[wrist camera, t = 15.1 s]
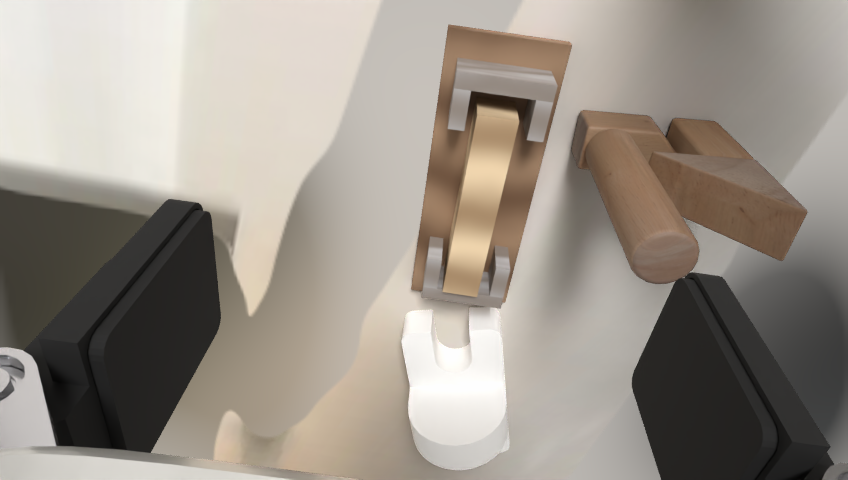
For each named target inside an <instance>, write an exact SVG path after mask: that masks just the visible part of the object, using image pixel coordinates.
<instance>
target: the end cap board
mask: <svg viewBox="0 0 848 480" xmlns="http://www.w3.org/2000/svg"><path fill="white" fill-rule="evenodd" d="M571 47H572V45H571V43H570V42H566V41H559V40H552V39H546V38H539V37H532V36H525V35H518V34H511V33H504V32H497V31H490V30H483V29H476V28H469V27H462V26H455V25H448V31H447V39H446V46H445V53H444V61H443V67H442V74H441V82H440V89H439V95H438V103H437V111H436V117H435V124H434V131H433V138H432V145H431V152H430V160H429V167H428V174H427V181H426V188H425V195H424V202H423V209H422V216H421V223H420V230H419V238H418V245H417V252H416V259H415V266H414V273H413V280H412V287H411V289H412V290H419V291H422V298H428V299H435V300H442V301H449V302H457V303H464V304H471V305H478V306H485V307H492V308H500V309H501V305H502V302H505V301H506V297H507V293H508V289H509V285H510V282H511V278H512V274H513V270H514V266H515V262H516V258H517V255H518V251H519V247H520V243H521V239H522V235H523V232H524V228H525V224H526V220H527V216H528V212H529V209H530V205H531V201H532V197H533V193H534V189H535V186H536V182H537V178H538V174H539V170H540V166H541V162H542V159H543V155H544V151H545V147H546V143H547V139H548V136H549V132H550V128H551V124H552V120H553V116H554V113H555V109H556V105H557V101H558V97H559V93H560V89H561V86H562V82H563V78H564V74H565V70H566V66H567V63H568V59H569V55H570V51H571ZM477 96H478V97H484V98H490V99H497V100H503V101H510V102H515V103H516V107H517V112H518V117H519V125H518V129H517V133H516V138H515V142H514V146H513V150H512V154H511V158H510V162H509V167H508V171H507V175H506V179H505V183H504V187H503V191H502V196H501V200H500V204H499V208H498V212H497V216H496V221H495V225H494V229H493V233H492V237H491V241H490V245H489V250H488V254H487V258H486V262H485V266H484V270H483V274H482V279H481V283H480V287H479V291H478V295H477V297H473V296H466V295H459V294H453V293H446V292H443V276H444V263H445V258H446V253H447V248H448V243H449V238H450V232H451V227H452V222H453V217H454V212H455V206H456V201H457V196H458V191H459V186H460V180H461V175H462V170H463V165H464V160H465V154H466V149H467V144H468V139H469V134H470V129H471V123H472V118H473V113H474V108H475V103H476V97H477Z"/></svg>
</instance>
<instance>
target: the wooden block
mask: <svg viewBox="0 0 848 480" xmlns="http://www.w3.org/2000/svg"><path fill="white" fill-rule="evenodd" d="M572 153H573V156H574V158H575V161H576V164H577V166H578V168H580V169H588V170H590V171H591V173H592V176H593V178H594V181H595V183H596V185H597V188H598V190H599V193H600V195H601V197H602V200H603V202H604V205H605V207H606V209H607V212H608V214H609V217H610V219H611V221H612V224H613V226H614V229H615V231H616V233H617V236H618V238H619V241H620V243H621V245H622V248H623V250H624V253H625V255H626V258H627V260H628V262H629V265H630V267H631V270H632V271H633V272H634V273H635V274H636V276H638V277H639V278H641V279H643V280H645V281H646V282H650V283H654V284H667V283H670V282H674V281H677V280H678V279H679V278H682V277H684V276H686V275H687V274H688V273H689V272H690V271H691V270H692V269H693V268H694V266H695V264H696V263H697V260H698V255H699V246H698V242H697V240H696V239H695V237H694V235H693V234H692V232H691V231H690V229H689V227H688V226H687V224H686V223H685V221H684V219H683V218H682V217H684V218H686V219H689V220H691V221H693V222H695V223H698V224H700V225H702V226H704V227H706V228H709V229H711V230H713V231H715V232H718V233H720V234H722V235H724V236H726V237H729V238H731V239H733V240H735V241H738V242H740V243H742V244H744V245H746V246H749V247H751V248H753V249H755V250H757V251H760V252H762V253H764V254H766V255H769V256H771V257H773V258H775V259H778V260H780V261H783V260H784V258H785V256H786V254H787V252H788V250H789V248H790V246H791V244H792V242H793V240H794V238H795V236H796V234H797V232H798V230H799V228H800V226H801V224H802V222H803V220H804V218H805V216H806V214H807V210H806V209H805V208H804V207H803V206H802V205H801V204H800V203H799V202H798V201H797V200H796V199H795V198H794V197H793V196H792V195H791V194H790V193H789V192H788V191H787V190H786V189H785V188H784V187H783V186H782V185H781V184H780V183H779V182H778V181H777V180H776V179H775V178H774V177H773V176H772V175H771V174H770V173H769V172H768V171H767V170H766V169H765V168H764V167H763V166H761V165H760V164H759V163H758V162H757V161H756V160H753V157H752V156H751V155H750V154H749V153H748V152H747V151H746V150H745V149H744V148H743V147H742V146H741V145H740V144H739V143H738V142H736V141H735V140H734V139H733V138H732V137H731V136H730V135H729V134H728V133H727V132H726V131H725V130H724V129H723V128H722V127H721V126H720V125H719V124H718V123H717V122H715V121H704V120H692V119H681V118H676V119H673V120H672V123H671V126H670V129H669V132H668V135H667V138H666V137H665V136H664V134H663V133H662V132H661V130H660V129H659V128H658V126H657V125H656V124H655V122H654V121H653V120H652V118H651V117H649V116H645V115H633V114H622V113H610V112H599V111H587V110H583V111H581V112H580V113H579V118H578V122H577V126H576V131H575V135H574V140H573V144H572Z"/></svg>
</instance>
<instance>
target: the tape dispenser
mask: <svg viewBox="0 0 848 480" xmlns="http://www.w3.org/2000/svg"><path fill="white" fill-rule="evenodd" d="M469 335H470V343H469V344H468V345H466V346H465V347H462V348H458V349H451V348H447V347H445V346H443V345H442V344H441V343H440V342H439V341H438V338H437V333H436V327H435V320H434V314H433V310H416V311H411V312H409V313H407V315H406V316H405V320H404V327H403V334H402V341H401V343H402V348H403V353H404V358H405V363H406V368H407V373H408V379H409V384H410V393H409V402H408V415H409V420H410V425H411V430H412V435H413V439H414V442H415V445H416V447H417V450H418V451H419V452H420V453H421V455H422V456H423V457H424V458H425V459H426V460H428V461H429V462H431V463H432V464H434V465H436V466H438V467H441V468H444V469H449V470H459V471H460V470H467V469H473V468H476V467H479V466H481V465H484V464H486V463H487V462H489V461H490V460H491V459H493V458H494V457H496V455H497V454H498V453H502V452H505V451H507V450H508V449H509V446H510V444H509V430H508V416H507V402H506V388H505V374H504V360H503V346H502V332H501V318H500V312H499V311H498V310H497V309H496V308H492V307H470V308H469Z"/></svg>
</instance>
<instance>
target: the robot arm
mask: <svg viewBox="0 0 848 480" xmlns="http://www.w3.org/2000/svg"><path fill="white" fill-rule="evenodd" d="M220 319H221V312H220V302H219V292H218V281H217V271H216V261H215V251H214V240H213V229H212V219H211V215H210V213H209V212H207V211H203V208H202V206H201V205H200V204H199V203H195V202H188V201H181V200H174V199H168V200H167V201H166V202H165V203H164V204H163V205H162V206H161V207H160V208H159V209H158V210H157V211H156V212H155V213H154V214H153V216H152V217H151V218H150V219H149V220H148V221H147V222H146V223H145V224H144V225H143V226H142V227H141V228H140V230H139V231H138V232H137V233H136V234H135V235H134V236H133V237H132V238H131V239H130V240H129V241H128V243H126V244H125V246H124V247H123V248H122V249H121V250H120V251H119V252H118V253H117V254H116V255H115V256H114V257H113V258H112V259H111V260H109V261H108V262H107V263H106V264H105V265H104V266H103V267H102V268H101V269H100V270H99V271H98V272H97V273H96V274H95V275H94V276H93V277H92V278H91V280H89V282H88V283H87V284H86V285H85V286H84V287H83V288H82V289H81V290H80V291H79V292H78V293H77V294H76V295H75V296H74V298H73V299H72V300H71V301H70V302H69V303H68V304H67V305H66V306H65V307H64V308H63V309H62V310H61V311H60V312H59V314H58V315H57V316H56V317H55V318H54V319H53V320H52V321H51V322H50V323H49V324H48V325H47V326H46V327H45V328H44V329H43V330H42V332H41V333H40V334H39V335H38V336H37V337H36V338H35V339H34V340H33V341H32V342H31V343H30V344H29V345H28V347H26V349H25V350H24V351H22V350H18V349H13V348H0V480H361V479H353V478H346V477H338V476H330V475H323V474H315V473H307V472H300V471H292V470H284V469H277V468H269V467H261V466H254V465H246V464H238V463H231V462H223V461H215V460H206V459H198V458H189V457H180V456H172V455H163V454H153V453H151V451H152V449H153V447H154V446H155V444H156V442H157V440H158V438H159V437H160V435H161V433H162V431H163V429H164V427H165V426H166V424H167V422H168V420H169V419H170V417H171V415H172V413H173V411H174V409H175V408H176V406H177V404H178V402H179V400H180V399H181V397H182V395H183V393H184V391H185V390H186V388H187V386H188V384H189V382H190V380H191V379H192V377H193V375H194V373H195V371H196V370H197V368H198V366H199V364H200V362H201V361H202V359H203V357H204V355H205V353H206V351H207V350H208V348H209V346H210V344H211V342H212V341H213V339H214V337H215V335H216V333H217V331H218V329H219V325H220ZM632 389H633V393H634V396H635V399H636V402H637V405H638V408H639V411H640V414H641V418H642V420H643V424H644V427H645V430H646V433H647V436H648V440H649V443H650V446H651V449H652V452H653V455H654V458H655V461H656V464H657V468H658V471H659V474H660V477H661V480H848V463H838V464H835V465H834V463H833V461H832V460H831V458H830V457H829V455H828V453H827V451H828V449H829V448H830V445H829V444H828V443H827V441H826V439H825V438H824V436H823V434H822V433H821V432H820V430H819V428H818V427H817V425H816V423H815V422H814V420H813V419H812V417H811V415H810V414H809V412H808V411H807V409H806V408H805V406H804V405H803V403H802V401H801V400H800V398H799V396H798V395H797V394H796V392H795V391H794V389H793V387H792V385H791V384H790V382H789V381H788V380H787V378H786V376H785V374H784V373H783V371H782V370H781V368H780V367H779V365H778V363H777V362H776V360H775V359H774V357H773V356H772V354H771V352H770V351H769V349H768V348H767V346H766V344H765V343H764V341H763V340H762V338H761V337H760V335H759V333H758V332H757V330H756V329H755V327H754V326H753V324H752V322H751V321H750V319H749V318H748V316H747V315H746V313H745V311H744V310H743V308H742V307H741V305H740V304H739V302H738V300H737V299H736V297H735V296H734V294H733V293H732V291H731V289H730V288H729V286H728V285H727V283H726V281H725V280H724V279H723V278H722V277H720V276H714V275H707V274H700V273H693V272H692V273H689V274H688V275H686V276H685V278H679V279H678V280H677V281H676V282H675V284H674V286H673V288H672V290H671V292H670V294H669V297H668V299H667V301H666V303H665V305H664V307H663V310H662V312H661V314H660V316H659V318H658V320H657V323H656V325H655V327H654V329H653V331H652V333H651V336H650V338H649V340H648V342H647V344H646V346H645V349H644V351H643V353H642V355H641V357H640V359H639V362H638V364H637V366H636V368H635V370H634V373H633V377H632Z"/></svg>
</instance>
